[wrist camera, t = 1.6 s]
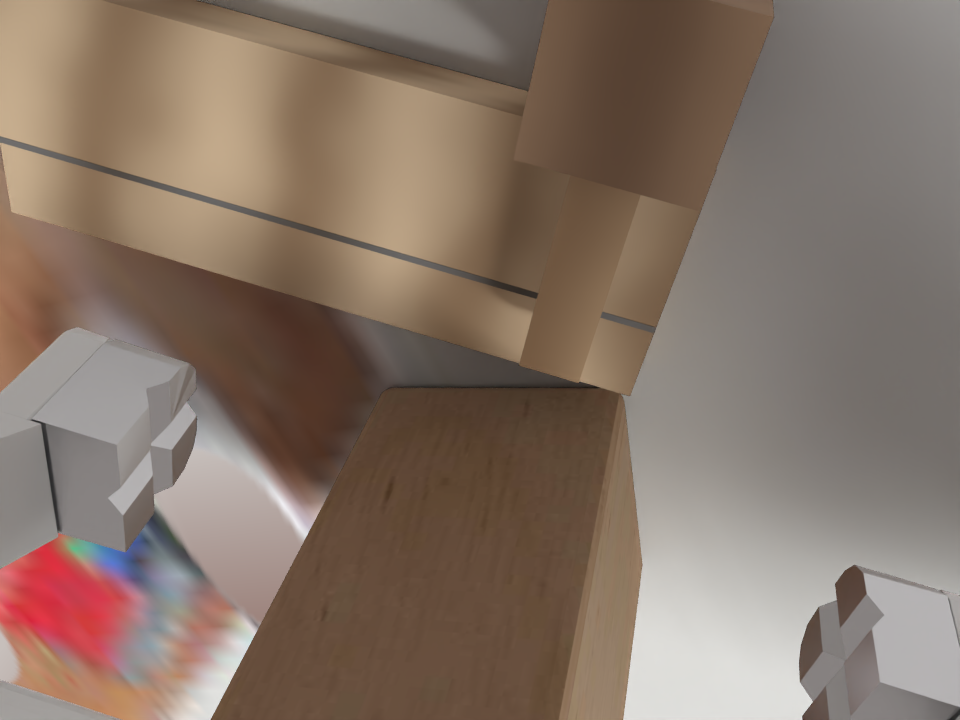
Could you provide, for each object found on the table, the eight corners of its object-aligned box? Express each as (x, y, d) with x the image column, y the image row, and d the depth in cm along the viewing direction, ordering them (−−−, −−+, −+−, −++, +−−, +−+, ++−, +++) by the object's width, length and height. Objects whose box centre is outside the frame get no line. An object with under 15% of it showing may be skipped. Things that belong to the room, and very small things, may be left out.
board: (718, 143, 28) (716, 170, 26) (635, 363, 34) (629, 396, 32) (10, -51, 30) (-31, -36, 28) (44, 189, 35) (11, 212, 34)
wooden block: (381, 382, 37) (116, 882, 22) (624, 382, 34) (518, 960, 19) (431, 551, 43) (248, 1046, 27) (644, 563, 40) (575, 1126, 24)
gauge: (769, -46, 25) (774, 17, 20) (638, 315, 33) (619, 421, 28) (593, -91, 25) (557, -40, 20) (505, 277, 33) (464, 375, 28)
